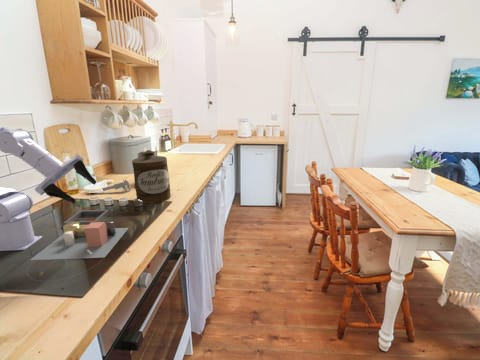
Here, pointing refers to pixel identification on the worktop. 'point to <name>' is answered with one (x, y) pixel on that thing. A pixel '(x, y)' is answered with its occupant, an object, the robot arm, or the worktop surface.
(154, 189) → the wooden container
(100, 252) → the board
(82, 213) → the tray
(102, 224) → the block
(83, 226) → the crank
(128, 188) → the caliper
